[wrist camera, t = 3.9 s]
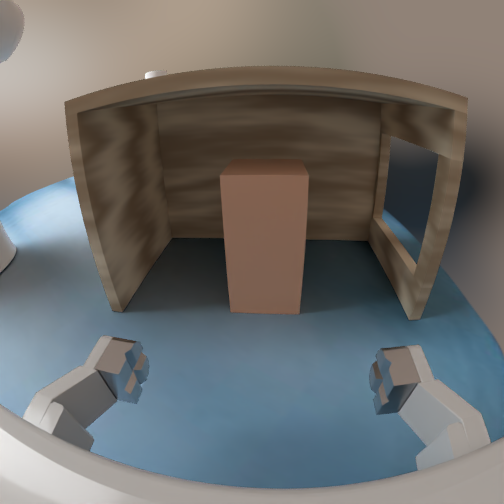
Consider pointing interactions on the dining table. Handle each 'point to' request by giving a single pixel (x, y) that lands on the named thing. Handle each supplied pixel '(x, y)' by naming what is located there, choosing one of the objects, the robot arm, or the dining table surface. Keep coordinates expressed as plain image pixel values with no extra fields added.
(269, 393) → the dining table surface
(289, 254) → the terracotta block
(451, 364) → the dining table surface
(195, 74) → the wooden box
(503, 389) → the dining table surface
